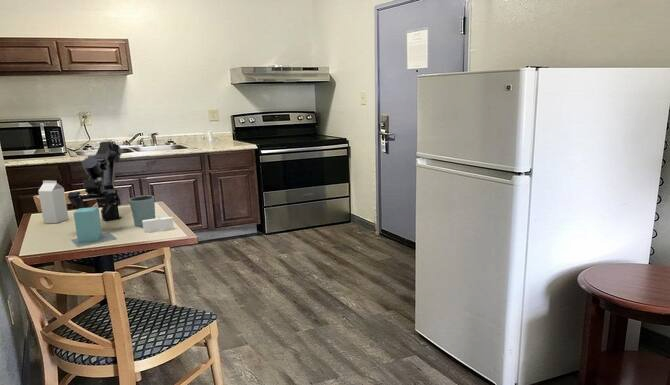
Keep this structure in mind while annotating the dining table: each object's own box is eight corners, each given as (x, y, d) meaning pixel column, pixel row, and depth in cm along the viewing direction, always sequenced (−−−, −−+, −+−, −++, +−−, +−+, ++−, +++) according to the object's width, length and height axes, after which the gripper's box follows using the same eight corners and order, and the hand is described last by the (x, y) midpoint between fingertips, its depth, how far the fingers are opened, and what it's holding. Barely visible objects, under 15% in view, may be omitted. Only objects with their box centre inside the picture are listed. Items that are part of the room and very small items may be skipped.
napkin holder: (135, 235, 188) (133, 222, 187) (151, 227, 199) (149, 214, 197) (169, 236, 185) (168, 222, 184) (183, 228, 196) (182, 214, 195)
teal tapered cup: (161, 221, 206) (158, 195, 204) (151, 227, 197) (148, 200, 194) (138, 221, 207) (135, 195, 204) (128, 228, 197) (124, 200, 194)
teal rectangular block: (83, 237, 185) (79, 208, 182) (102, 235, 186) (98, 206, 184) (78, 242, 178) (73, 212, 176) (97, 241, 180) (93, 211, 177)
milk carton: (57, 223, 209) (50, 182, 205) (43, 223, 211) (36, 182, 207) (68, 219, 216) (62, 179, 212) (55, 219, 218) (49, 179, 214)
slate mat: (109, 232, 191) (108, 232, 191) (117, 239, 181) (117, 238, 181) (70, 240, 183) (70, 239, 183) (77, 248, 173) (77, 247, 173)
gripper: (65, 172, 187) (60, 205, 179) (114, 169, 191) (112, 201, 183) (74, 188, 196) (70, 220, 188) (121, 184, 200) (119, 215, 192)
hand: (92, 214), depth 187 cm, fingers open, 9 cm apart
